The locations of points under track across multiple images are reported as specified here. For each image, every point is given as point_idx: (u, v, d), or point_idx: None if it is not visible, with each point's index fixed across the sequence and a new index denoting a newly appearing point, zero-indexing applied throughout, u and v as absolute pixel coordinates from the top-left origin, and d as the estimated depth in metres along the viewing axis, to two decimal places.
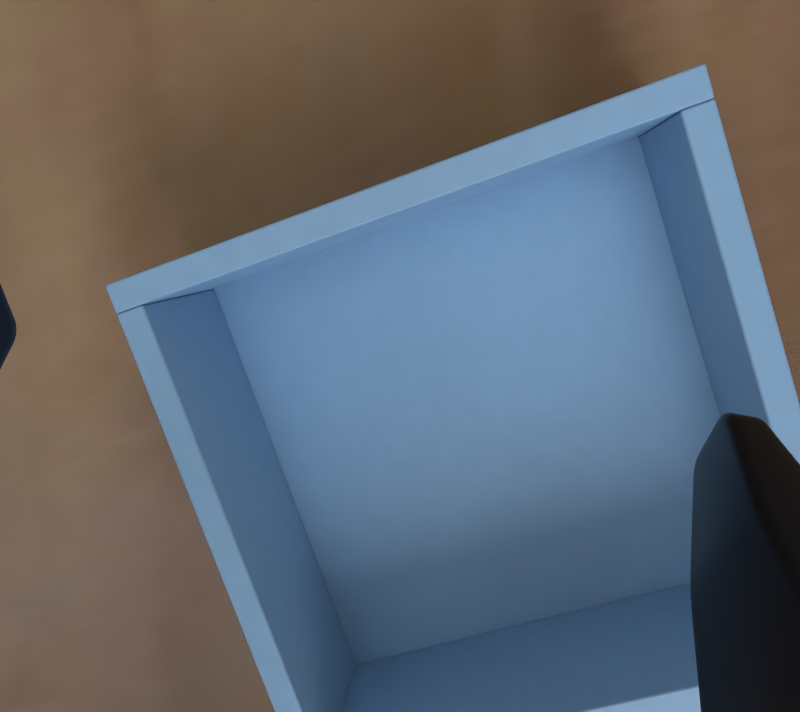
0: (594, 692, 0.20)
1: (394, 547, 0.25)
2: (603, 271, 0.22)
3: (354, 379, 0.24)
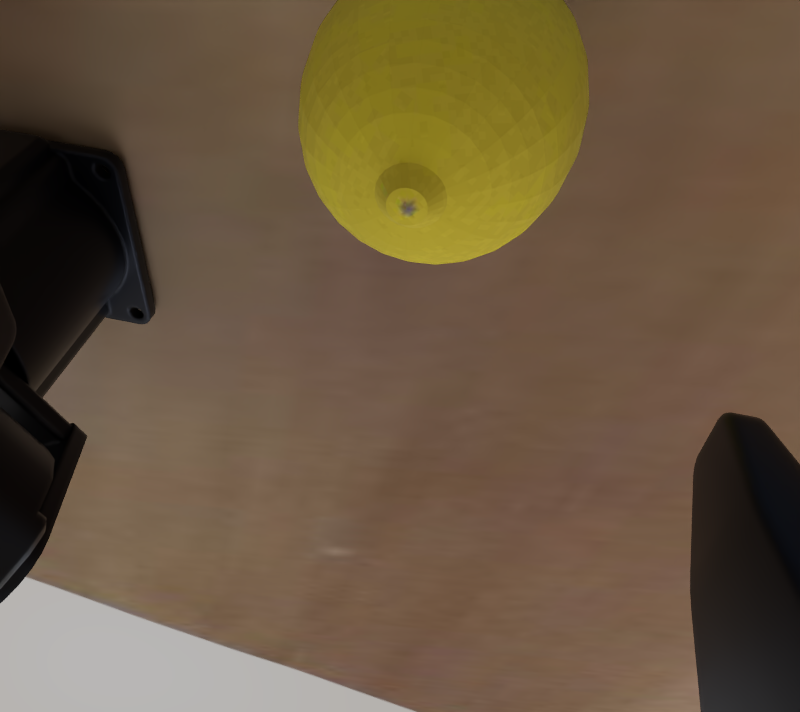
0: None
1: None
2: None
3: None
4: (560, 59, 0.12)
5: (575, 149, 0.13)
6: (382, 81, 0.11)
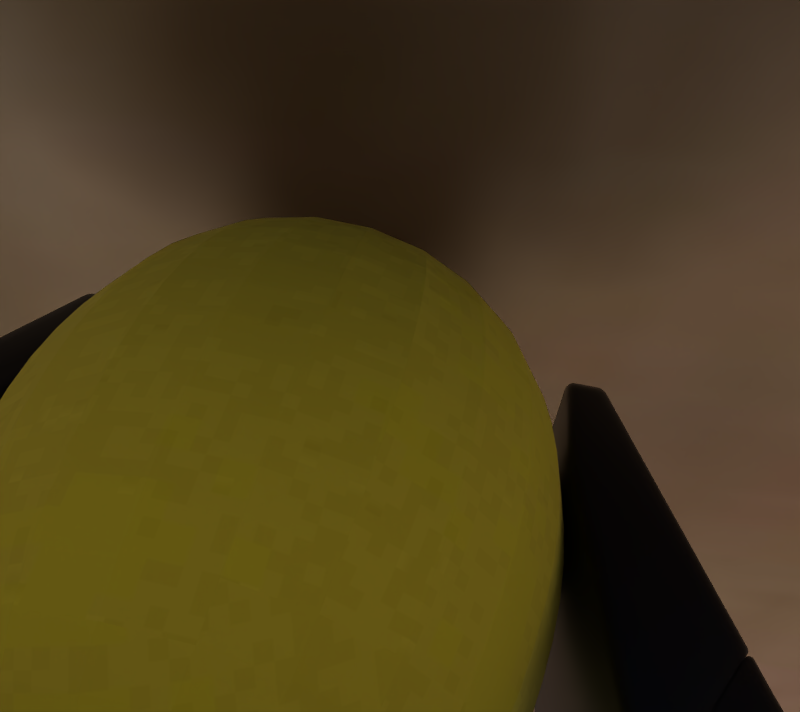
0: None
1: None
2: None
3: None
4: (482, 617, 0.05)
5: None
6: None
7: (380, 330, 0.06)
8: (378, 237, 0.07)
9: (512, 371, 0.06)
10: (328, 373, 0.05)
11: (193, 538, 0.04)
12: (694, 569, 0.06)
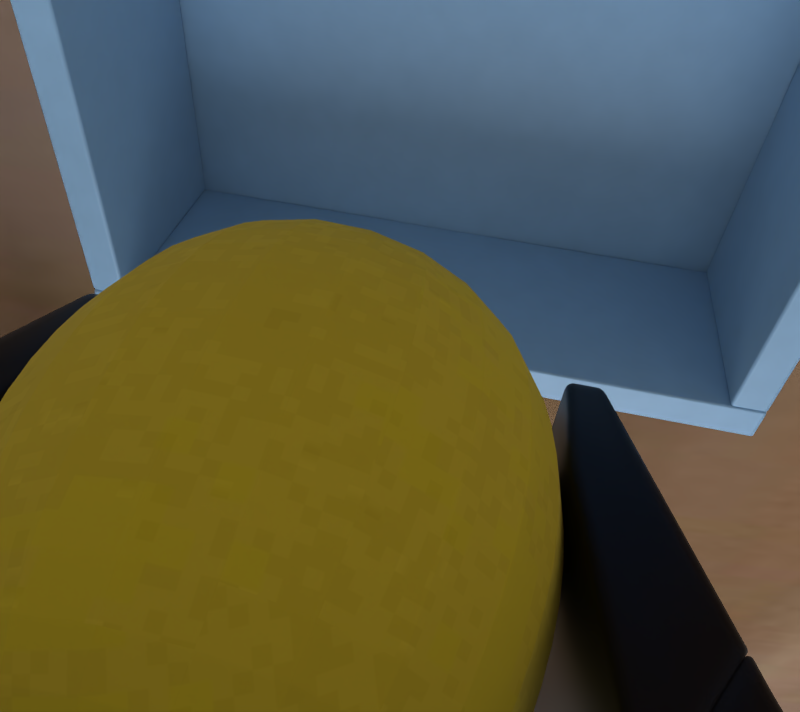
0: None
1: (294, 71, 0.18)
2: None
3: None
4: (482, 622, 0.05)
5: None
6: None
7: (380, 333, 0.06)
8: (378, 239, 0.07)
9: (512, 374, 0.06)
10: (328, 376, 0.05)
11: (191, 544, 0.04)
12: (694, 569, 0.06)
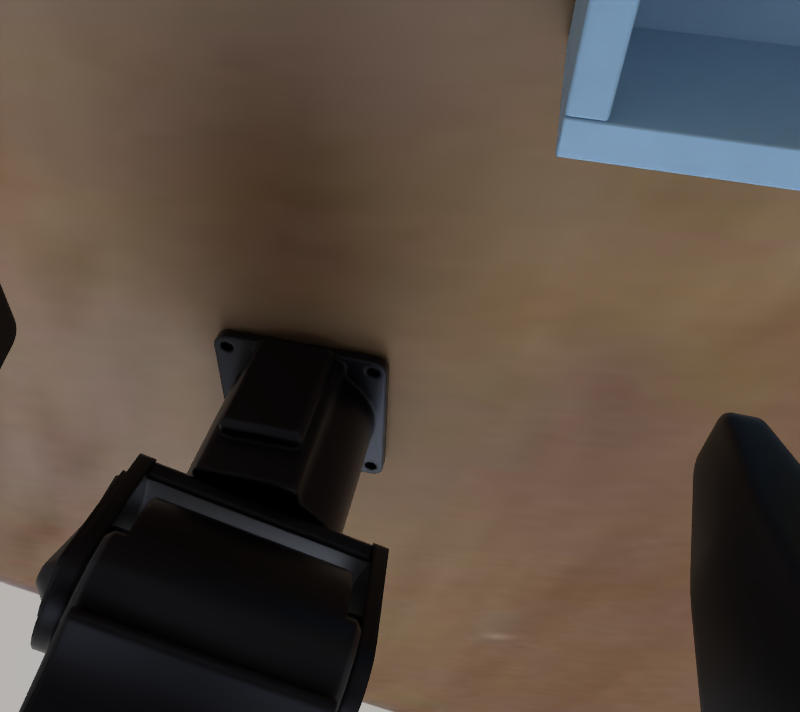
0: None
1: None
2: None
3: None
4: None
5: None
6: None
7: None
8: None
9: None
10: None
11: None
12: None
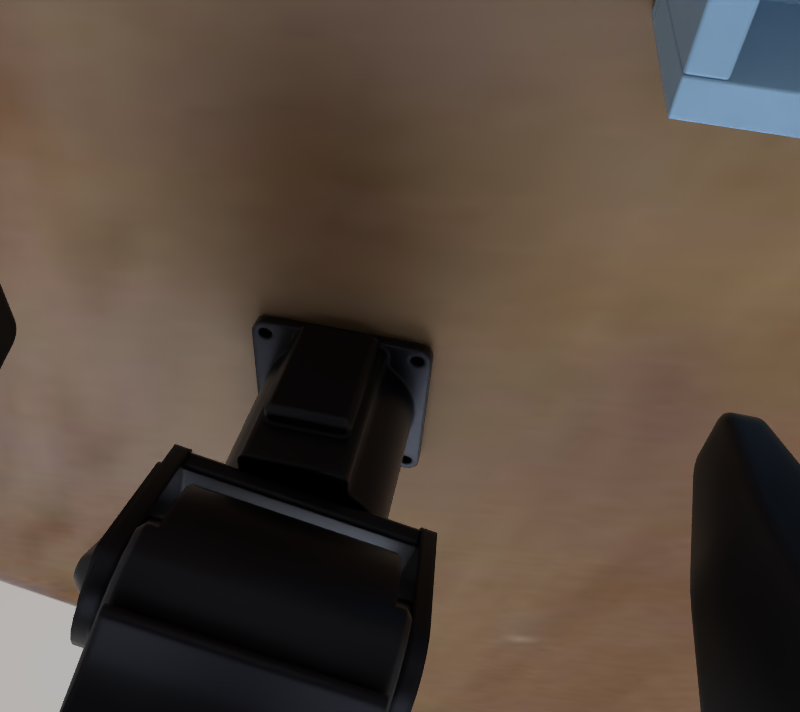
0: None
1: None
2: None
3: None
4: None
5: None
6: None
7: None
8: None
9: None
10: None
11: None
12: None
